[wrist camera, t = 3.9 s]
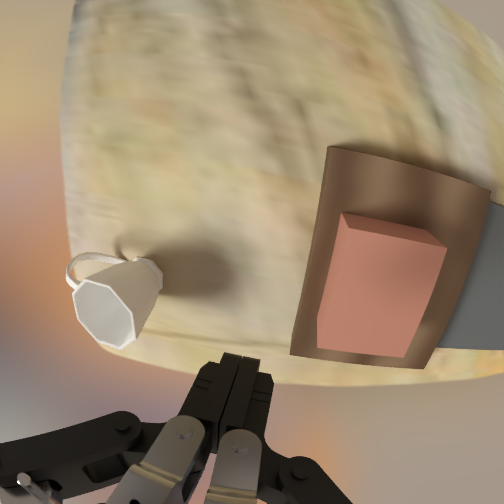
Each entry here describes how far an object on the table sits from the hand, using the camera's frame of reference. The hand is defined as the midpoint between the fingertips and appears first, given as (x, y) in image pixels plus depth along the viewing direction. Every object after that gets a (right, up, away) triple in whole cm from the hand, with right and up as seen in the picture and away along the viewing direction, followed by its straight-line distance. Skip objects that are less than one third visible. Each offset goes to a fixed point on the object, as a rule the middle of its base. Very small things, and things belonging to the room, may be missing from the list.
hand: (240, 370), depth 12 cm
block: (+10, +3, +10) cm, 14 cm away
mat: (+27, +1, +11) cm, 29 cm away
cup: (-12, +3, +18) cm, 21 cm away
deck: (+12, +4, +13) cm, 18 cm away
